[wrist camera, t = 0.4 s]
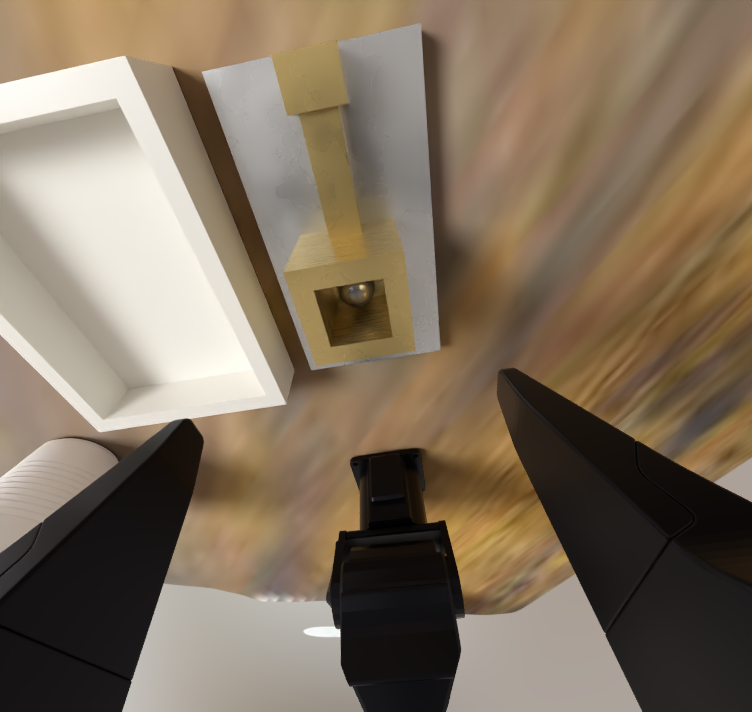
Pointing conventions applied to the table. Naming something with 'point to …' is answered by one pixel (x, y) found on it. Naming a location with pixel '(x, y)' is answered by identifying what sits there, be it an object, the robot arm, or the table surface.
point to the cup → (47, 483)
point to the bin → (127, 253)
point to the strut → (340, 227)
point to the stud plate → (367, 158)
